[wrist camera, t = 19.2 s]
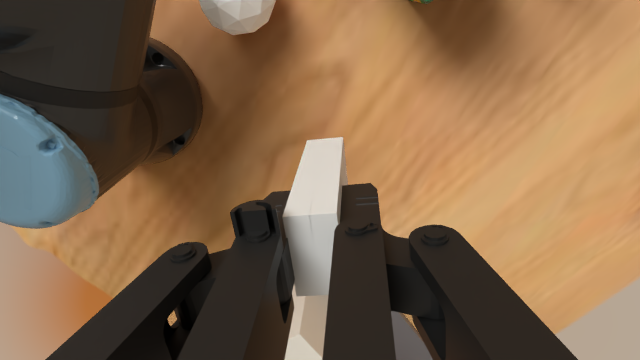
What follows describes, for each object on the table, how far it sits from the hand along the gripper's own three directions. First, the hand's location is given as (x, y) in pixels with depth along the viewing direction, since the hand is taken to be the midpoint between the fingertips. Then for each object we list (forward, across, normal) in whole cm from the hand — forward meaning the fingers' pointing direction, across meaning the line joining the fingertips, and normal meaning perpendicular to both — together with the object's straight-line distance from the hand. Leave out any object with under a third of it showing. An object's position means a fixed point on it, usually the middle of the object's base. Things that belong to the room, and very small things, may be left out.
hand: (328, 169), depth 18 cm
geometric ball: (+33, -10, +8) cm, 35 cm away
